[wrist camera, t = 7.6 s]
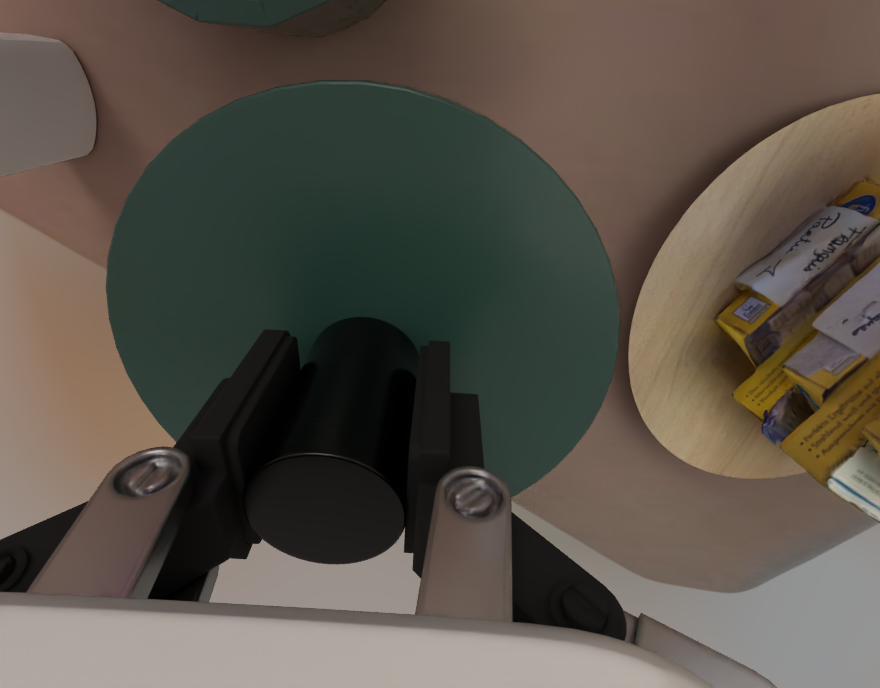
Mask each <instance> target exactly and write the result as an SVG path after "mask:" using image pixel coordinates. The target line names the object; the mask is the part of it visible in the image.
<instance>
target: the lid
mask: <svg viewBox="0 0 880 688" xmlns="http://www.w3.org/2000/svg"><path fill="white" fill-rule="evenodd" d="M106 293H107V303H108V313H109V320H110V324H111V328H112V332H113V336H114V340H115V344H116V348H117V350H118V353H119V355H120V357H121V360H122V362H123V365H124V367H125V370H126V372H127V375H128V376H129V378H130V380H131V382H132V384H133V385H134V387H135V389H136V391H137V392H138V394H139V396H140V398H141V399H142V401H143V402H144V404H145V405H146V406H147V408H148V409H149V411H150V412H151V413H152V414H153V416H154V417H155V419H156V420H157V421H158V423H159V424H160V425H161V426H162V427H163V428H164V429H165V430H166V432H167V433H168V434H169V435H170V436H171V437H172V438H173V439H174V440H175V441H176V442H178V440H179V439H180V437H181V436H182V435H183V433H184V432H185V430H186V429H187V428H188V426H189V425H190V423H191V422H192V421H193V419H194V418H195V417H196V415H197V414H198V412H199V411H200V410H201V408H202V407H203V405H204V404H205V403H206V401H207V400H208V399H209V397H210V396H211V394H212V393H213V392H214V390H215V389H216V387H217V386H218V385H219V383H220V382H221V381H222V380H223V379H224V378H230V377H231V376H232V374H233V373H234V372H235V370H236V369H237V367H238V366H239V364H240V363H241V362H242V360H243V359H244V357H245V356H246V354H247V353H248V352H249V350H250V349H251V347H252V346H253V344H254V343H255V342H256V340H257V339H258V337H259V336H260V334H261V333H262V332H263V330H264V329H272V330H287V331H289V333H290V336H291V337H296V338H297V340H298V348H299V358H300V368H301V371H300V373H299V375H298V377H297V379H296V381H295V383H294V385H293V387H292V390H291V392H290V394H289V396H288V398H287V400H286V402H285V404H284V406H283V408H282V410H281V412H280V414H279V416H278V418H277V420H276V422H275V424H274V427H273V429H272V431H271V433H270V435H269V437H268V439H267V441H266V443H265V445H264V447H263V449H262V451H261V453H260V455H259V457H258V459H257V461H256V464H255V466H254V468H253V470H252V472H251V474H250V476H249V478H248V480H247V482H246V484H245V487H244V490H243V496H242V504H243V510H244V513H245V517H246V518H247V520H248V522H249V524H250V526H251V527H252V528H253V530H254V531H255V532H256V533H257V534H258V535H259V536H260V537H261V538H262V539H263V540H264V541H266V542H267V543H269V544H270V545H271V546H273V547H274V548H276V549H278V550H280V551H281V552H284V553H286V554H288V555H290V556H293V557H296V558H299V559H302V560H306V561H310V562H315V563H323V564H349V563H356V562H361V561H364V560H368V559H371V558H373V557H376V556H378V555H380V554H381V553H383V552H385V551H386V550H388V549H389V548H390V547H391V546H392V545H393V544H395V542H396V541H397V540H398V539H399V537H400V536H401V534H402V532H403V530H404V528H405V525H406V519H407V501H406V500H407V478H408V458H409V445H410V435H411V426H412V417H413V407H414V398H415V389H416V379H417V370H418V361H419V352H420V345H424V346H429V340H433V341H448V342H450V392H453V393H468V394H477V395H478V399H479V410H480V422H481V434H482V446H483V458H484V469H487V470H489V471H491V472H493V473H495V474H497V475H498V476H499V477H500V478H501V479H502V480H503V481H504V482H505V483H506V485H507V487H508V488H509V490H510V495H511V497H513V496H515V495H517V494H518V493H520V492H522V491H523V490H525V489H526V488H528V487H530V486H531V485H533V484H534V483H536V482H537V481H538V480H540V479H541V478H542V477H543V476H545V475H546V474H547V473H548V472H550V471H551V470H552V469H553V468H555V467H556V466H557V465H558V464H559V463H560V462H561V461H562V460H563V459H564V458H565V457H566V456H567V455H568V454H569V453H570V452H571V451H572V450H573V448H574V447H575V446H576V444H577V443H578V442H579V440H580V439H581V438H582V437H583V435H584V434H585V433H586V431H587V430H588V429H589V427H590V425H591V423H592V422H593V420H594V418H595V416H596V415H597V413H598V411H599V409H600V408H601V406H602V403H603V401H604V398H605V396H606V393H607V390H608V388H609V385H610V383H611V380H612V376H613V371H614V367H615V363H616V358H617V354H618V343H619V330H620V318H619V305H618V293H617V289H616V285H615V280H614V276H613V272H612V268H611V264H610V260H609V258H608V256H607V253H606V251H605V248H604V246H603V243H602V241H601V239H600V236H599V234H598V231H597V229H596V227H595V226H594V224H593V223H592V221H591V219H590V218H589V216H588V214H587V213H586V211H585V209H584V208H583V206H582V204H581V203H580V201H579V199H578V198H577V197H576V196H575V194H574V193H573V192H572V191H571V190H570V188H569V187H568V186H567V185H566V184H565V182H564V181H563V180H562V179H561V178H560V176H559V175H558V174H557V173H556V172H555V170H554V169H553V168H552V167H551V166H550V165H549V164H548V163H547V162H545V161H544V160H543V159H542V158H541V157H540V156H539V155H538V154H537V153H535V152H534V151H533V150H532V149H531V148H530V147H529V146H528V145H526V144H525V143H524V142H523V141H522V140H521V139H519V138H518V137H516V136H515V135H513V134H512V133H510V132H509V131H507V130H506V129H504V128H503V127H501V126H500V125H498V124H497V123H495V122H494V121H492V120H491V119H489V118H488V117H486V116H484V115H482V114H480V113H478V112H475V111H473V110H471V109H469V108H467V107H465V106H463V105H461V104H459V103H456V102H454V101H452V100H450V99H447V98H444V97H441V96H438V95H434V94H431V93H428V92H424V91H421V90H418V89H415V88H411V87H408V86H401V85H395V84H388V83H382V82H375V81H369V80H320V81H313V82H306V83H300V84H293V85H286V86H280V87H275V88H272V89H269V90H265V91H262V92H259V93H256V94H253V95H250V96H246V97H243V98H240V99H237V100H235V101H233V102H231V103H229V104H227V105H225V106H223V107H221V108H219V109H217V110H215V111H213V112H211V113H209V114H208V115H206V116H204V117H202V118H200V119H199V120H198V121H196V122H195V123H194V124H192V125H191V126H190V127H188V128H187V129H186V130H184V131H183V132H182V133H180V134H179V135H178V136H176V137H175V138H174V139H172V140H171V141H170V142H169V143H168V144H167V145H166V146H165V147H164V148H163V150H162V151H161V152H160V153H159V154H158V155H157V156H156V157H155V158H154V159H153V160H152V161H151V162H150V163H149V164H148V166H147V167H146V168H145V170H144V171H143V173H142V174H141V176H140V177H139V179H138V181H137V182H136V184H135V185H134V187H133V188H132V190H131V191H130V193H129V194H128V196H127V199H126V201H125V203H124V206H123V208H122V211H121V213H120V215H119V218H118V220H117V223H116V225H115V228H114V232H113V237H112V241H111V246H110V250H109V255H108V262H107V281H106Z"/></svg>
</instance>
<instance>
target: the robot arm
mask: <svg viewBox="0 0 880 688" xmlns="http://www.w3.org/2000/svg"><path fill="white" fill-rule="evenodd" d="M300 371H301V368H300V358H299V348H298V340H297V338H296V337H291V336H290V333H289V331H287V330H272V329H264V330H263V332H262V333H261V334H260V336H259V337H258V339H257V340H256V342H255V343H254V344H253V346H252V347H251V349H250V350H249V352H248V353H247V354H246V356H245V357H244V359H243V360H242V362H241V363H240V364H239V366H238V367H237V369H236V370H235V372H234V373H233V374H232V376H231V377H230V378H224V379H223V380H222V381H221V382H220V383H219V385H218V386H217V387H216V389H215V390H214V392H213V393H212V394H211V396H210V397H209V399H208V400H207V401H206V403H205V404H204V405H203V407H202V408H201V410H200V411H199V412H198V414H197V415H196V417H195V418H194V419H193V421H192V422H191V423H190V425H189V426H188V428H187V429H186V430H185V432H184V433H183V435H182V436H181V437H180V439H179V440H178V442H177V443H176V444H175V446H174V447H156V448H150V449H146V450H143V451H139V452H137V453H135V454H133V455H131V456H128V457H126V458H125V459H124V460H122V461H121V462H119V463H118V464H116V465H115V466H114V467H113V468H112V470H110V472H109V473H108V474H107V475H106V477H105V478H104V480H103V481H102V483H101V484H100V485H99V487H98V489H97V490H96V491H95V493H94V494H93V496H92V497H91V498H90V500H89V501H87V502H85V503H83V504H81V505H79V506H76V507H74V508H72V509H69V510H67V511H65V512H62V513H61V514H58V515H56V516H53V517H51V518H49V519H47V520H45V521H42V522H40V523H38V524H35V525H33V526H31V527H28V528H26V529H24V530H22V531H20V532H17V533H15V534H13V535H10V536H8V537H6V538H4V539H1V540H0V688H777V687H776V686H775V685H774V684H773V683H772V682H771V681H769V680H768V679H766V678H765V677H763V676H762V675H760V674H759V673H757V672H756V671H754V670H752V669H750V668H748V667H746V666H745V665H743V664H741V663H738V662H737V661H734V660H733V659H731V658H729V657H727V656H725V655H723V654H721V653H719V652H717V651H715V650H713V649H711V648H709V647H707V646H705V645H703V644H701V643H699V642H697V641H695V640H693V639H692V638H690V637H688V636H686V635H684V634H682V633H680V632H678V631H676V630H674V629H672V628H670V627H668V626H666V625H664V624H662V623H660V622H658V621H656V620H654V619H652V618H650V617H648V616H646V615H644V614H642V613H641V614H640V616H639V618H637V617H635V616H633V615H631V614H629V613H627V612H625V611H623V609H622V607H621V605H620V604H619V602H618V601H617V599H616V597H615V596H614V595H613V594H612V593H611V592H610V591H609V590H608V589H607V588H606V587H605V586H604V585H603V584H601V583H600V582H599V581H598V580H597V579H595V578H594V577H593V576H592V575H590V574H589V573H588V572H586V571H585V570H584V569H583V568H582V567H580V566H579V565H578V564H576V563H575V562H574V561H573V560H571V559H570V558H569V557H568V556H566V555H565V554H564V553H562V552H561V551H560V550H559V549H558V548H556V547H555V546H554V545H553V544H551V543H550V542H549V541H547V540H546V539H545V538H544V537H542V536H541V535H540V534H539V533H537V532H536V531H535V530H534V529H532V528H531V527H530V526H528V525H527V524H526V523H525V522H524V521H522V520H521V519H520V518H519V517H517V516H516V515H515V514H514V513H512V512H511V495H510V490H509V488H508V487H507V485H506V483H505V482H504V481H503V480H502V479H501V478H500V477H499V476H498V475H497V474H495V473H493V472H491V471H489V470H487V469H484V458H483V446H482V434H481V422H480V410H479V399H478V395H477V394H468V393H453V392H450V342H448V341H433V340H429V346H424V345H420V352H419V361H418V370H417V379H416V389H415V398H414V407H413V417H412V426H411V435H410V445H409V458H408V478H407V500H406V501H407V519H406V525H405V543H404V553H414V555H413V571H414V572H415V573H416V574H417V575H418V576H419V577H420V578H421V583H420V589H419V595H418V601H417V606H416V613H415V615H411V614H395V613H379V612H363V611H347V610H331V609H330V610H329V609H314V608H296V607H279V606H262V605H245V604H228V603H210V602H209V600H210V597H211V594H212V591H213V588H214V585H215V582H216V579H217V576H218V570H219V565H220V564H221V563H223V562H225V561H226V560H228V559H229V558H235V559H247V556H248V554H249V551H250V549H251V547H252V544H253V543H254V544H258V543H260V542H261V540H262V538H261V537H260V536H259V535H258V534H257V533H256V532H255V531H254V530H253V528H252V527H251V526H250V524H249V522H248V520H247V518H246V517H245V513H244V510H243V504H242V496H243V490H244V487H245V484H246V482H247V480H248V478H249V476H250V474H251V472H252V470H253V468H254V466H255V464H256V461H257V459H258V457H259V455H260V453H261V451H262V449H263V447H264V445H265V443H266V441H267V439H268V437H269V435H270V433H271V431H272V429H273V427H274V424H275V422H276V420H277V418H278V416H279V414H280V412H281V410H282V408H283V406H284V404H285V402H286V400H287V398H288V396H289V394H290V392H291V390H292V387H293V385H294V383H295V381H296V379H297V377H298V375H299V373H300Z"/></svg>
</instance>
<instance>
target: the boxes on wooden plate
mask: <svg viewBox="0 0 880 688" xmlns="http://www.w3.org/2000/svg"><path fill="white" fill-rule="evenodd" d="M628 358H629V376H630V383H631V388H632V392H633V396H634V399H635V402H636V405H637V407H638V410H639V412H640V414H641V416H642V418H643V420H644V422H645V424H646V425H647V427H648V428H649V430H650V431H651V433H652V434H653V435H654V436H655V438H656V439H657V440H658V441H659V442H660V443H661V444H662V445H663V446H664V447H665V448H666V449H667V450H669V451H670V452H671V453H672V454H674V455H675V456H677V457H678V458H680V459H681V460H683V461H685V462H686V463H688V464H690V465H692V466H694V467H697V468H699V469H701V470H704V471H707V472H710V473H714V474H718V475H723V476H728V477H735V478H747V479H765V478H777V477H785V476H791V475H796V474H802V473H805V472H808V473H809V474H810V475H811V476H812V477H813V478H815V479H816V481H817V482H819V483H820V484H821V485H823V486H824V487H826V488H827V489H828V490H830V491H831V492H833V493H834V494H835V495H836V496H837V497H839V498H841V499H843V500H844V501H848V502H850V503H851V504H852V505H854V506H855V507H856V508H858V509H859V510H861V511H862V512H864V513H865V514H867V515H869V516H870V517H872V518H873V519H875V520H877V521H878V522H879V523H880V94H874V95H869V96H864V97H859V98H855V99H852V100H848V101H845V102H841V103H838V104H835V105H832V106H829V107H827V108H824V109H822V110H819V111H817V112H814V113H812V114H810V115H807V116H805V117H803V118H801V119H799V120H797V121H795V122H793V123H792V124H790V125H788V126H786V127H784V128H783V129H781V130H779V131H777V132H776V133H774V134H773V135H771V136H769V137H768V138H766V139H765V140H763V141H762V142H760V143H759V144H757V145H756V146H755V147H753V148H752V149H750V150H749V151H748V152H746V153H745V154H744V155H742V156H741V157H740V158H739V159H737V160H736V161H735V162H734V163H733V164H732V165H730V166H729V167H728V168H727V169H726V170H725V171H724V172H723V173H722V174H720V175H719V176H718V177H717V178H716V179H715V180H714V181H713V182H712V183H711V184H710V185H709V186H708V187H707V188H706V189H705V190H704V192H703V193H702V194H701V195H700V196H699V197H698V198H697V199H696V200H695V201H694V202H693V203H692V205H691V206H690V207H689V208H688V210H687V211H686V212H685V213H684V215H683V216H682V218H681V219H680V221H679V222H678V224H677V225H676V226H675V227H674V229H673V230H672V232H671V233H670V234H669V236H668V238H667V239H666V241H665V242H664V244H663V246H662V248H661V249H660V251H659V253H658V255H657V256H656V258H655V260H654V262H653V264H652V266H651V268H650V270H649V272H648V275H647V277H646V279H645V281H644V284H643V286H642V289H641V292H640V295H639V298H638V301H637V304H636V308H635V312H634V316H633V320H632V325H631V331H630V338H629V351H628Z"/></svg>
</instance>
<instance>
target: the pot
mask: <svg viewBox="0 0 880 688" xmlns="http://www.w3.org/2000/svg"><path fill="white" fill-rule="evenodd" d="M158 1H160V2H161V3H163V4H165V5H167V6H169V7H171V8H173V9H175V10H176V11H178V12H180V13H182V14H184V15H186V16H188V17H190V18H191V19H193V20H195V21H199V22H202V23H208V24H215V25H221V26H228V27H234V28H241V29H247V30H254V31H261V32H267V33H274V34H287V35H298V36H312V37H324V36H327V35H329V34H331V33H334V32H337V31H340V30H343V29H346V28H349V27H351V26H353V25H354V24H356V23H358V22H360V21H362V20H365V19H367V18H368V17H370V16H371V15H372V14H373V12H374V11H376V10H377V9H378V8H379V7H380V6H381V5H382V4H383V3H384V2H385V1H386V0H158Z"/></svg>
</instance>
